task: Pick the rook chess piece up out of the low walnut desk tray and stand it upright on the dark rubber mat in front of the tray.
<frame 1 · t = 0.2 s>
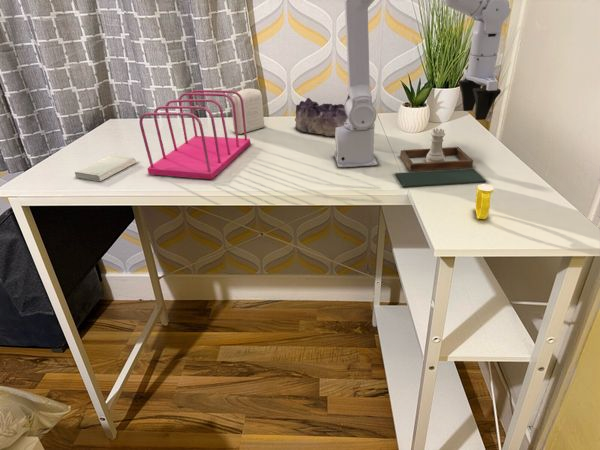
hand: (474, 114, 103), 10 cm above the table, tool pointing down, fingers open, 7 cm apart
file sorter: (203, 159, 114), on the table
desk mat: (439, 178, 96), on the table
geode: (325, 132, 129), on the table
hard drive: (107, 170, 110), on the table
rook chess piece: (434, 162, 105), resting in desk tray
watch: (480, 216, 81), on the table
white rounded block: (249, 130, 134), on the table
desk tray: (434, 162, 105), on the table
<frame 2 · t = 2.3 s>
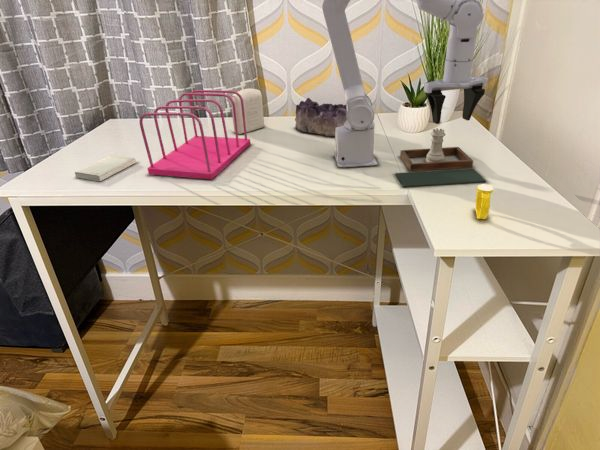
hand: (451, 121, 101), 10 cm above the table, tool pointing down, fingers open, 7 cm apart
nothing on the table moved.
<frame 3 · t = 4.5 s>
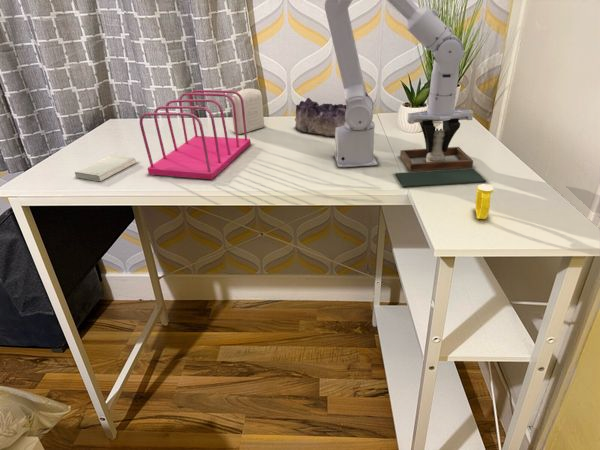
hand: (436, 150, 103), 3 cm above the table, tool pointing down, fingers closed on rook chess piece, 3 cm apart
rook chess piece: (434, 162, 105), resting in desk tray, touching gripper
everything else where it was.
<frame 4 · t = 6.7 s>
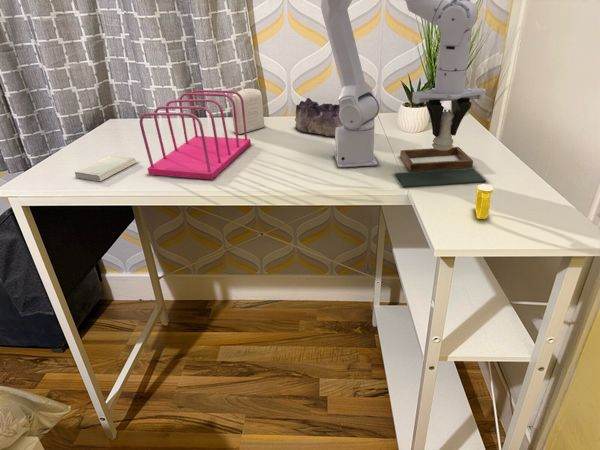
hand: (443, 134, 93), 10 cm above the table, tool pointing down, fingers closed on rook chess piece, 3 cm apart
rook chess piece: (442, 148, 94), point 7 cm above the table, touching gripper
everything else where it was.
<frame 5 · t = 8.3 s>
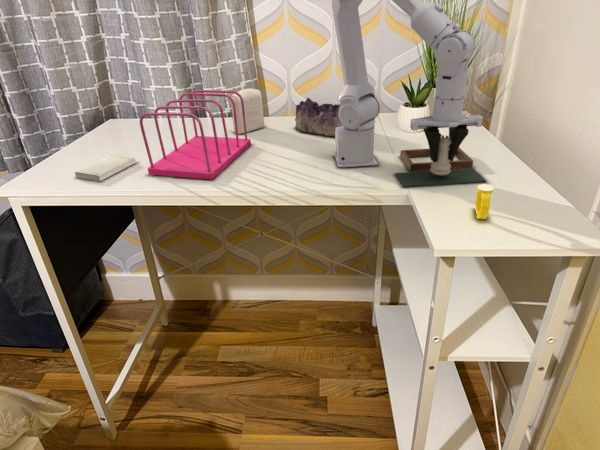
hand: (441, 159, 94), 4 cm above the table, tool pointing down, fingers closed on rook chess piece, 3 cm apart
rook chess piece: (440, 172, 96), point 1 cm above the table, touching gripper
everything else where it was.
when the fingers open (3 cm above the table, at t = 9.0 s): rook chess piece stays where it is, resting on desk mat.
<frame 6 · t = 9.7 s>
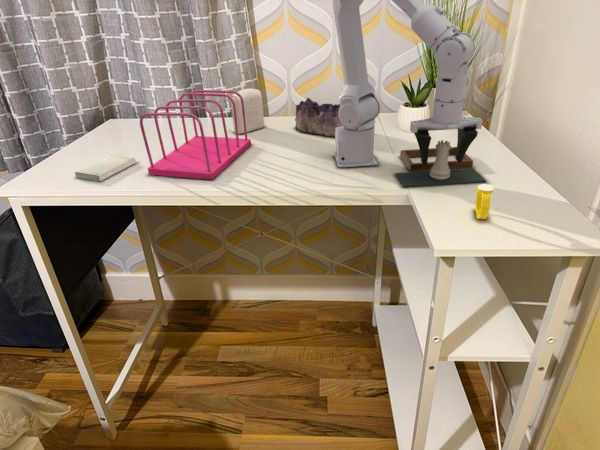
hand: (441, 161, 94), 4 cm above the table, tool pointing down, fingers open, 7 cm apart
rook chess piece: (439, 177, 96), resting on desk mat
everything else where it was.
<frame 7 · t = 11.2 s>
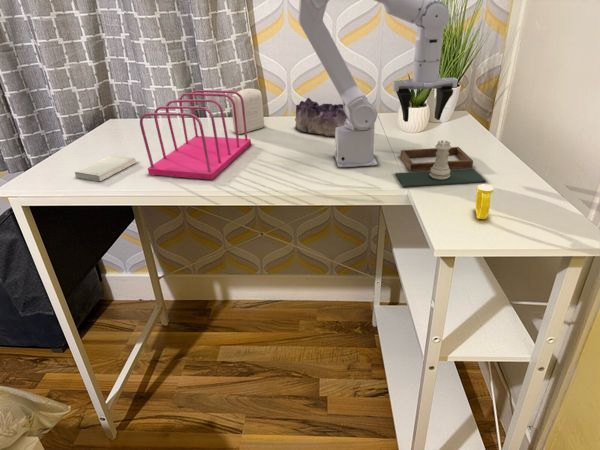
hand: (421, 119, 104), 9 cm above the table, tool pointing down, fingers open, 7 cm apart
nothing on the table moved.
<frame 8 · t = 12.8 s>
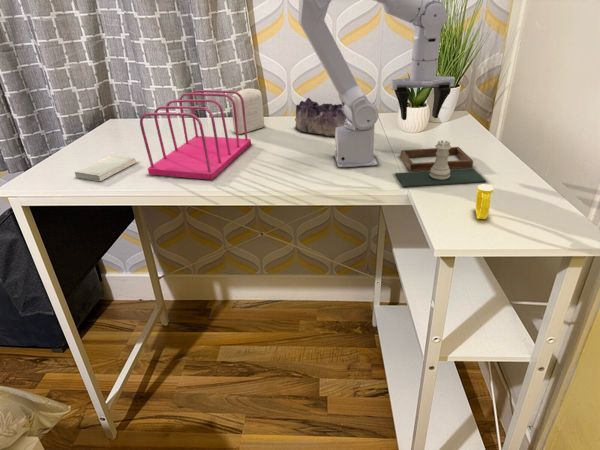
hand: (419, 117, 105), 9 cm above the table, tool pointing down, fingers open, 7 cm apart
nothing on the table moved.
at the end: rook chess piece inside the target area (0.0 cm from its centre), resting on desk mat; rook chess piece tilted 0°; the gripper is holding nothing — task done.
